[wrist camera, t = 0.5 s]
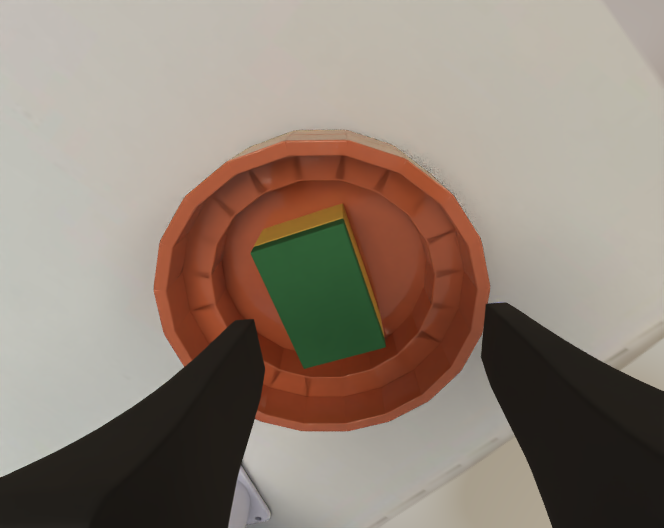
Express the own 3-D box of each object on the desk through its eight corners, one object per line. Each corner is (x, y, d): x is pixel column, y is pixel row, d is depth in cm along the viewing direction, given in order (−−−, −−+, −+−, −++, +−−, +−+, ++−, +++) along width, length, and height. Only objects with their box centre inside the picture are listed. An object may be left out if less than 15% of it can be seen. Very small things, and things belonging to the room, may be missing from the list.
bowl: (255, 398, 26) (239, 457, 22) (138, 186, 20) (87, 211, 16) (481, 340, 24) (511, 393, 20) (424, 82, 18) (450, 80, 14)
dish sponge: (308, 333, 23) (303, 369, 20) (262, 229, 20) (249, 252, 17) (380, 313, 23) (386, 347, 20) (342, 202, 20) (343, 223, 17)
